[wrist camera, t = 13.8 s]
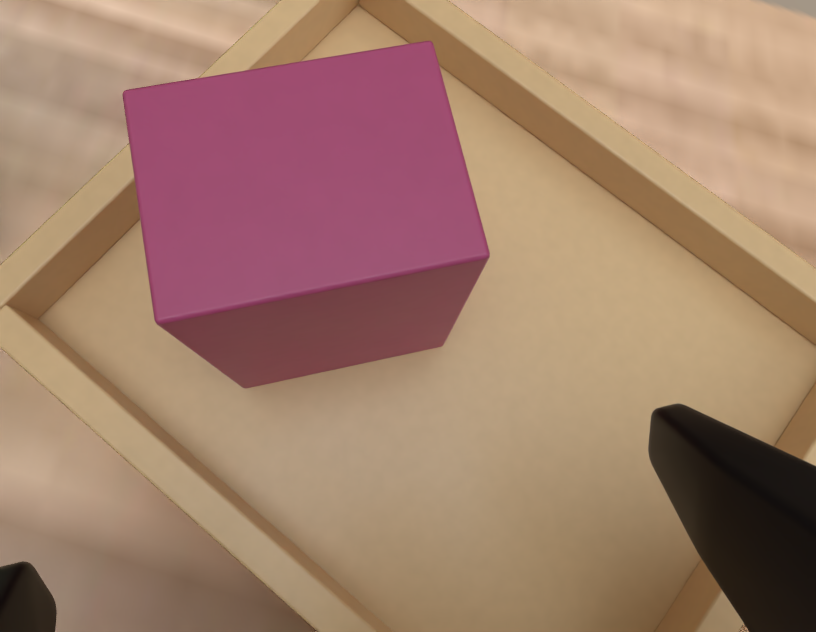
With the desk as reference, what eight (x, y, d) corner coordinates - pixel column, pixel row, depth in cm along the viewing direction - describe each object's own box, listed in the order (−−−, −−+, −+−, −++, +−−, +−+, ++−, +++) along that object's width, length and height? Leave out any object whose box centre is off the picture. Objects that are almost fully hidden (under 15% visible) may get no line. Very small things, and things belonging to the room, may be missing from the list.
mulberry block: (444, 346, 17) (492, 256, 10) (242, 390, 17) (153, 324, 10) (409, 205, 18) (433, 37, 11) (217, 242, 17) (119, 88, 11)
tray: (849, 359, 18) (918, 341, 16) (557, 817, 15) (590, 876, 13) (355, -8, 20) (353, -71, 18) (9, 330, 17) (-47, 306, 15)
